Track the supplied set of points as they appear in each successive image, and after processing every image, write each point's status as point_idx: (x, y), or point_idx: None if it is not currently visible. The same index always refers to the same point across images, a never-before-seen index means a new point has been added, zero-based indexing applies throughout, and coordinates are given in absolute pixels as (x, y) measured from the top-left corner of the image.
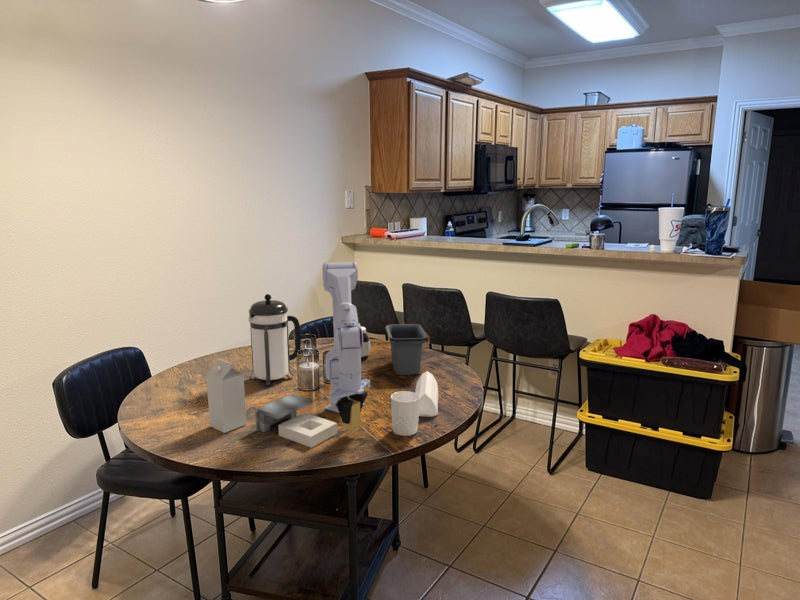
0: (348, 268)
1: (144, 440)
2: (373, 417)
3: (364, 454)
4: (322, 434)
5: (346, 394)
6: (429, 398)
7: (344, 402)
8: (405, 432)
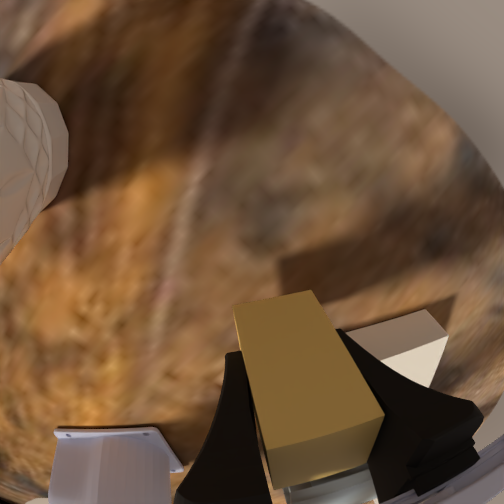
0: None
1: None
2: (64, 359)
3: (370, 103)
4: (388, 344)
5: (498, 483)
6: None
7: (474, 430)
8: (39, 92)
